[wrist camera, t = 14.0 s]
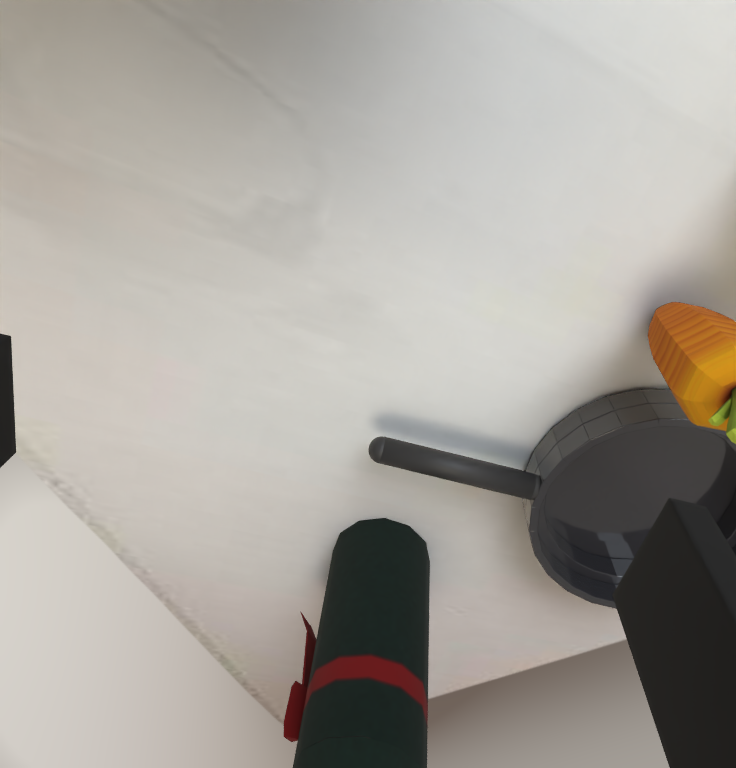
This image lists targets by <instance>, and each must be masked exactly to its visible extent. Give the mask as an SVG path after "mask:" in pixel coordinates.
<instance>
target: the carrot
mask: <svg viewBox="0 0 736 768" xmlns="http://www.w3.org/2000/svg"><path fill="white" fill-rule="evenodd" d="M648 340H649V345H650V349H651V352H652V356H653V359H654V361H655V363H656V364H657V366H658V368H659V370H660V372H661V373H662V375H663V377H664V379H665V381H666V383H667V384H668V386H669V388H670V390H671V391H672V393H673V395H674V397H675V398H676V400H677V402H678V403H679V405H680V407H681V408H682V410H683V411H684V413H685V414H686V416H687V418H688V419H689V420H690V421H691V422H692V423H693V424H695V425H698V426H703V427H708V428H713V429H718V430H723V431H726V435H727V436H728V438H729V439H730V440H731V441H732V442H733V443H735V444H736V322H735V321H734V320H732V319H730V318H728V317H726V316H724V315H722V314H719V313H717V312H714V311H712V310H709V309H706V308H704V307H700V306H694V305H689V304H684V303H679V302H671V303H668V304H665V305H663V306H661V307H659V308H657V309H656V311H655V314H654V316H653V318H652V321H651V323H650V325H649V331H648Z"/></svg>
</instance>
